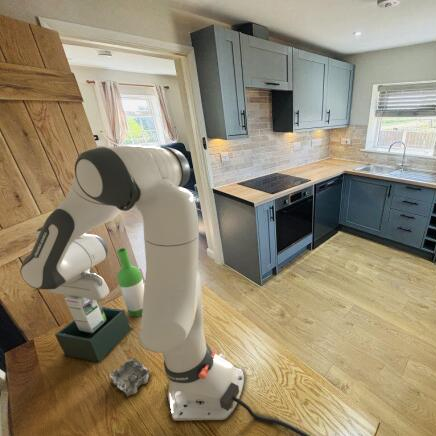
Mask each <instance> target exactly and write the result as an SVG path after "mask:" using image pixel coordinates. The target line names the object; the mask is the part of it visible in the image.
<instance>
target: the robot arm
mask: <svg viewBox="0 0 436 436" xmlns="http://www.w3.org/2000/svg"><path fill="white" fill-rule="evenodd" d="M190 176H191V167H190V164H189V161H188V159H187V158H186V157H185V155H184V154H183V153H182V152H181V151H179V150H177V149H175V148H172V147H167V146H158V147H157V146H145V145H144V146H141V145H137V144H136V145H124V146H123V145H121V146H114V147H113V146H110V145H109V146H108V145H97V146H94V147H92V148H89V149H88V150H85V151H83V152H81V153H80V154H79V155H78V156H77V158H76V160H75V164H74V176H73V180H72V182H71V187H70V188H69V191H68V193H67V194H66V196H65V197H64V198H63V200H62V201H61V202H60V204H59V205H58V206H57V207H56V208H55V209H54V210H53V211H52V212H51V213H50V214H49V216H47V218H46V219H45V221H44V223H43V225H42V226H40V227H39V228H38V229H36V231H35V239H36V241H35V243H34V245H33V247H32V250H31V252H30V254H29V255H27V256H26V257H25V258H24V260H23V261H22V263H21V265H20V270H19V271H20V276H21V278H22V280H23V282H25V283H26V285H28V286H29V287H30V288H32V289H35V290H47V291H48V292H49V293H52V294H56V295H63V296H64V298H66V297H67V296H75V297H81V298H87V299H89V300H90V302H89V303H88V305H89V307H93V308H94V307H95V306H97V304H98V303H97V300H99V301H102V300H103V299H105V298H106V297H107V296H108V295H109V294H110V288H109V287H108V284H107V283H106V281H105V279H104V278H103V277H102V276H101V275H98V274H97V273H95V272H90V271H91V268H93V267H95V266H97V265H99V264H101V263H102V262H103V261H105V260H106V259H107V257H108V254H109V253H108V252H109V251H108V244H107V243H106V241H105V240H104V239H103V238H102V237H101V236H98V235H96V234H92V233H89V232H90V231H92V230H95V229H96V228H98V227H100V226H102V225H104V224H107V223H108V222H111V221H112V220H114V219H115V218H117V217H118V216H119V215H120V214H121V212H122V211H123V212H127V211H130V210H132V209H133V208H134V207H135V208H136V209H137V210H138V211H139V213H140V214H141V217H142V222H143V223H142V225H143V241H144V252H145V253H144V254H145V279H144V296H143V310H142V315H141V318H140V319H141V320H140V325H139V331H138V341H139V343H140V344H141V346H142V347H143V348H144V349H146V350H148V351H150V352H152V353H157V354H162V357H163V367H164V373H165V375H166V377H167V378H168V390H167V400H168V403H169V405H170V409H171V410H170V412H171V418H172V420H173V421H176V422H177V421H224V420H226V419H228V417H230V416H231V414H232V413H233V411H234V410H235V408H236V407H237V404H238V405H240V406H242V407H243V408H244V409H245V410H246V411H247V412H248V414H249V415H250V416H251V417H252V418H253V419H256V420H258V421H261V422H265V423H271V424H276V425H278V426H282V427H284V428H285V429H288V430H290V431H292V432H294V433H295V434H297V435H299V436H311V435H310V434H308V433H306V432H304V431H302V430H301V429H299V428H297V427H295V426H293V425H291V424H289V423H287V422H285V421H282V420H280V419H276V418H272V417H266V416H262V415H259V414H257V413H255V412H254V411H253V410H252V408H251V407H250V406H249V405H248V404H247V403H245V402H244V401H242V400H241V399H240V397H241V394H242V392H243V388H244V383H245V382H244V381H245V377H244V376H245V375H244V372H243V369H240V368H238V367H235V366H234V364H233V363H231V362H230V361H228V360H227V359H226V355H225V354H224V353H219V354H217V351H216V348H214V349H213V350H212V349H211V347H210V346H209V344H208V343H207V342H206V334H205V329H204V328H205V327H204V305H203V303H204V302H203V289H202V288H203V287H202V276H201V272H200V270H199V251H200V249H199V248H200V244H199V243H200V240H199V239H200V227H199V224H200V223H199V215H198V208H197V205H196V199H195V196H194V195H193V193H192V192H191V191H190V190H188V189H187V188H184V186H185V185H186V184H187V183H188V182H189V180H190Z"/></svg>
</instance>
